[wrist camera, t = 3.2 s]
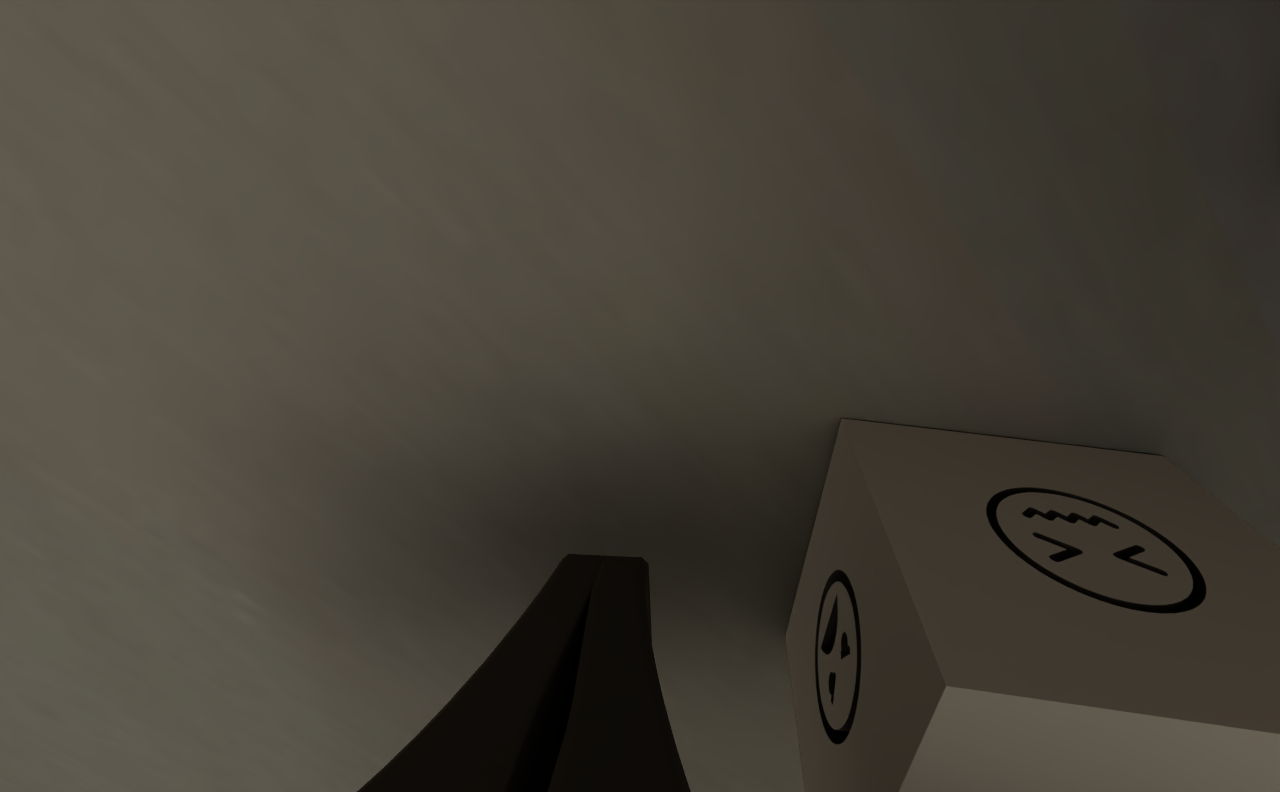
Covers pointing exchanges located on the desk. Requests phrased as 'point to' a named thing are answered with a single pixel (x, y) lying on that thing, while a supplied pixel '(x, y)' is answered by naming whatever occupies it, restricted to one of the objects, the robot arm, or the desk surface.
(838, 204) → the desk surface
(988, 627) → the dice cube
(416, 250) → the desk surface
